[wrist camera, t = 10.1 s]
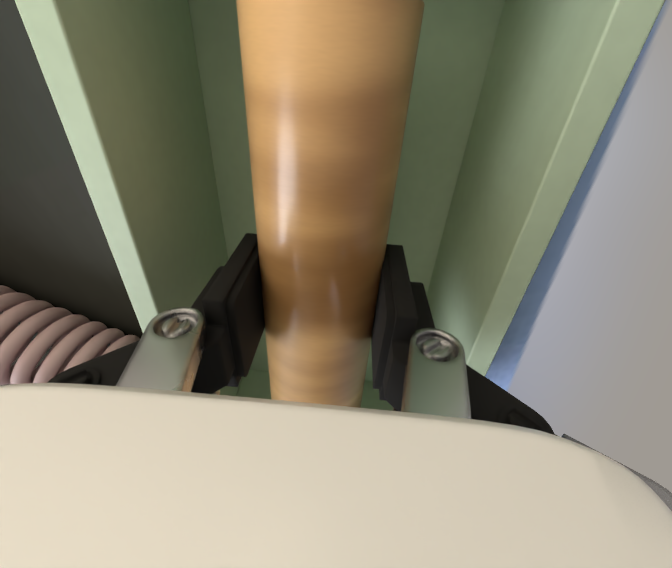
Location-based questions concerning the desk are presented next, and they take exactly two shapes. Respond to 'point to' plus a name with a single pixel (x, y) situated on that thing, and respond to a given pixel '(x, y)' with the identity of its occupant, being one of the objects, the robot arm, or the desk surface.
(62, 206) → the desk surface
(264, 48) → the wooden cylinder
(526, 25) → the bin
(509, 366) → the desk surface
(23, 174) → the desk surface
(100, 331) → the coil
